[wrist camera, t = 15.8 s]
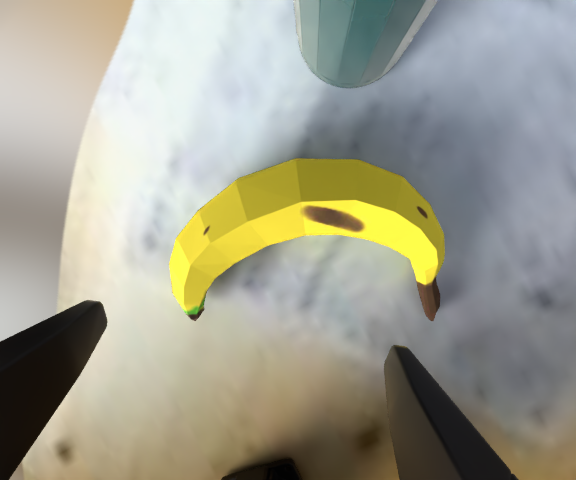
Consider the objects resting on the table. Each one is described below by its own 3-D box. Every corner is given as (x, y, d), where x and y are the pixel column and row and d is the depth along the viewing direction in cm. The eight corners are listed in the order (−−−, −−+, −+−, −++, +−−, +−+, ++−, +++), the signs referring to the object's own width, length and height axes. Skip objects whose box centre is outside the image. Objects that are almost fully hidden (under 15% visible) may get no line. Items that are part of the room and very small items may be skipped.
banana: (112, 269, 17) (262, 428, 21) (373, 77, 13) (501, 315, 17) (150, 243, 21) (269, 378, 25) (355, 93, 17) (460, 280, 21)
